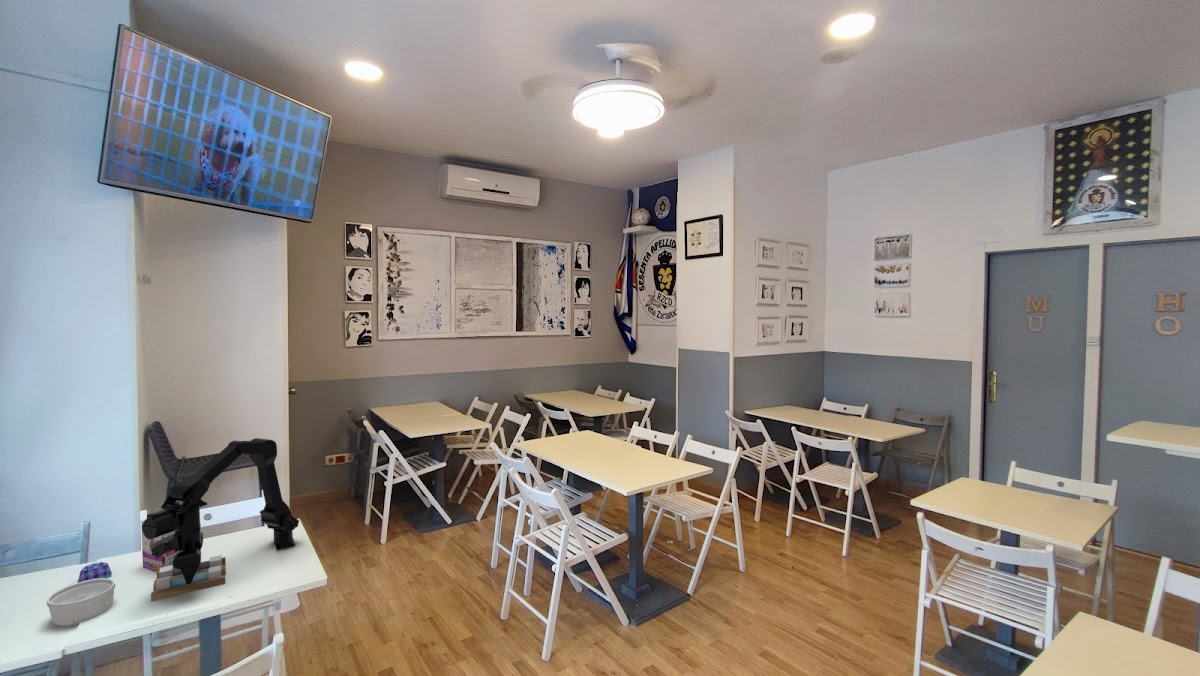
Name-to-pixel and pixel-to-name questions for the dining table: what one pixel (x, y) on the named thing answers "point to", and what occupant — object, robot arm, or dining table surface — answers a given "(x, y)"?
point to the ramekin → (81, 601)
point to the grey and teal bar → (168, 583)
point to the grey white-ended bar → (212, 562)
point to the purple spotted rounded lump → (93, 572)
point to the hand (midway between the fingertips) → (189, 576)
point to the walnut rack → (189, 587)
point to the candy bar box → (149, 559)
